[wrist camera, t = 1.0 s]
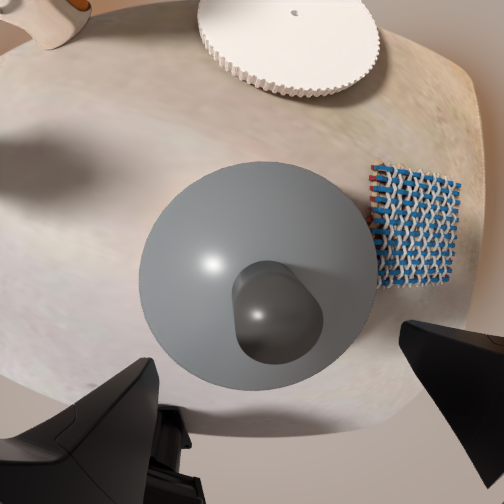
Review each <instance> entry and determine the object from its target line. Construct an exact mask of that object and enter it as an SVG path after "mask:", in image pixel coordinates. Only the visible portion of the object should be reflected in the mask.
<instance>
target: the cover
mask: <svg viewBox="0 0 504 504" xmlns="http://www.w3.org/2000/svg"><path fill="white" fill-rule="evenodd" d="M377 280H378V263H377V255H376V249H375V245H374V241H373V237H372V235H371V232H370V230H369V227H368V225H367V223H366V221H365V219H364V218H363V216H362V214H361V213H360V211H359V209H358V208H357V207H356V206H355V204H354V203H353V202H352V201H351V199H350V198H349V197H348V196H347V195H346V194H345V193H344V192H343V191H341V190H340V189H339V188H338V187H337V186H336V185H334V184H333V183H331V182H330V181H328V180H327V179H325V178H324V177H322V176H320V175H318V174H316V173H314V172H312V171H310V170H307V169H304V168H301V167H298V166H295V165H290V164H284V163H279V162H250V163H242V164H237V165H233V166H229V167H226V168H222V169H220V170H217V171H215V172H213V173H210V174H208V175H206V176H204V177H202V178H201V179H199V180H197V181H196V182H194V183H192V184H191V185H189V186H188V187H187V188H186V189H184V190H183V191H182V192H181V193H180V194H178V195H177V196H176V197H175V198H174V199H173V200H172V201H171V202H170V204H169V205H168V206H167V207H166V208H165V209H164V210H163V212H162V213H161V215H160V216H159V218H158V219H157V221H156V222H155V224H154V225H153V228H152V230H151V232H150V234H149V236H148V238H147V240H146V243H145V246H144V250H143V253H142V257H141V263H140V269H139V292H140V300H141V305H142V308H143V312H144V315H145V319H146V321H147V323H148V325H149V328H150V330H151V332H152V333H153V335H154V337H155V338H156V340H157V342H158V343H159V345H160V346H161V347H162V348H163V349H164V351H165V352H166V353H167V354H168V355H169V356H170V357H171V358H172V359H173V360H174V361H175V362H176V363H177V364H178V365H180V366H181V367H182V368H184V369H185V370H187V371H188V372H189V373H191V374H193V375H195V376H197V377H198V378H200V379H202V380H205V381H207V382H210V383H212V384H215V385H218V386H222V387H225V388H230V389H236V390H246V391H260V390H271V389H277V388H282V387H286V386H289V385H292V384H295V383H298V382H301V381H303V380H305V379H307V378H310V377H312V376H313V375H315V374H317V373H319V372H320V371H322V370H323V369H325V368H326V367H328V366H329V365H330V364H332V363H333V362H334V361H335V360H336V359H338V358H339V357H340V356H341V355H342V354H343V353H344V352H345V351H346V350H347V349H348V347H349V346H350V345H351V344H352V343H353V341H354V340H355V339H356V337H357V336H358V334H359V333H360V331H361V330H362V328H363V326H364V324H365V322H366V320H367V318H368V316H369V313H370V311H371V308H372V305H373V301H374V298H375V294H376V287H377Z"/></svg>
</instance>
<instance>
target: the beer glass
mask: <svg viewBox="0 0 504 504" xmlns="http://www.w3.org/2000/svg"><path fill="white" fill-rule="evenodd" d="M91 10H92V8H91V4H90V3H89V2H88V1H87V0H0V21H2V22H5V23H8V24H11V25H14V26H17V27H19V28H22V29H23V30H25V31H27V33H29V34H30V35H31V36H32V37H33V39H34V40H35V42H36V43H37V44H38V46H39V47H41V48H42V49H45V50H50V49H54V48H57V47H59V46H61V45H63V44H64V43H66V42H67V41H69V40H70V39H72V38H73V37H74V36H75V35H76V34H77V33H78V32H79V31H80V30H81V29H82V28H83V26H84V25H85V24H86V22H87V21H88V19H89V17H90V14H91Z"/></svg>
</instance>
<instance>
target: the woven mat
mask: <svg viewBox="0 0 504 504" xmlns="http://www.w3.org/2000/svg"><path fill="white" fill-rule="evenodd" d="M382 165H383V162H382V161H381V160H380V159H377V160H375V162H374V164H373V165H371V170H373V176H372V175H369V180H372V181H373V186H370V190H372V196H370V201H372V203H371V207H369V211H371V214H372V217H367V221H369V222H372V223H371V224H370V228H369V230H370V232H371V235H372V237H373V241H374V245H380V248H375V249H376V255H380V257H377V263H378V280H377V287H376V289H378V288H379V287H380V285H382V290H385V286H386V285H387V288H389V289H390V287H392V286H393V285H395V284H397V289H400V285H402V284H403V283H404V284H403V286H402V287H403V288H404V287H405V286H406V285H408V287H409V288H411V286H412V284H415V287H418V285H420V284H421V287H424V284H425V283H426V284H425V286H427V285H428V283H429V282H431V285H432V284H433V286H435V283H437V284H436V285H439V284H440V282H441V285H443V283H444V282H447V281H448V280H449V277H448V275H445V274H446V273H452V269H450V267H447V265H450V264H452V260H451V259H450V257H451V256H454V254H455V252H453V251H452V249H451V248H453V247H455V243H453V242H452V241H453V239H457V235H454V230H457V226H454V224H455V222H459V218H456V216H455V213H458V209H455V206H454V205H455V204H457V205H458V204H460V201H459V200H455V199H454V196H459V192H458V191H454V189H455V188H460V187H461V184H459V183H455V180H454V177H453V176H452V179H451V177H449V179H448V178H447V176H446V175H444V174H443V175H442V176H441V178H440V173H438V172H437V173H432V172H431V171H430V170H429V171H427V172H426V173H425V175H424V173H423V170H422V169H421V168H420V170H419V171H418V172H417V169H415V171H414V172H412V170H411V168H409V170H406V168H405V166H404V165H403V164H401V163H399V164H398V165H397V166H396V165H394V168H393V167H391V163H390V162H388V164H387V166H382ZM380 171H382V172H387V174H386V177H384V176H380ZM392 173H393V176H392ZM396 175H397V177H396ZM405 177H406V180H404V179H405ZM412 177H413V178H414V180H415V182H413V181H412ZM430 181H431V182H432V185H431V183H430ZM380 182H386V183H385V187H382V186H380ZM440 184H441V187H440ZM402 185H406V190H402ZM392 186H393V188H392ZM412 187H414V190H413V191H412ZM430 191H431V192H432V195H431V194H429V193H430ZM379 192H385V195H386V198H384V197H379ZM423 192H424V193H423ZM446 194H448V197H447V196H446ZM402 195H405V200H402ZM411 196H413V199H414V202H412V201H411ZM423 198H424V200H423ZM429 200H432V201H431V203H430V201H429ZM379 202H385V203H386V204H385V205H384V208H378V205H379ZM446 203H447V205H448V207H444V206H445V204H446ZM394 204H395V205H394ZM402 205H405V209H406V211H405V210H402ZM413 206H414V207H413ZM420 208H421V211H422V213H421V212H420ZM429 210H430V211H431V214H428V212H429ZM438 211H439V215H438ZM445 211H447V214H446V215H445ZM380 213H383V218H382V217H381V214H380ZM390 214H391V216H390ZM402 215H405V217H404V219H403V216H402ZM452 216H453V217H452ZM419 217H421V219H420V222H419ZM435 219H436V220H437V223H438V224H437V223H435ZM412 220H413V221H412ZM445 220H446V221H445ZM423 221H424V222H423ZM450 221H453V222H452V224H451V225H450ZM444 222H445V224H444ZM381 224H382V228H379V226H380V225H381ZM389 226H390V229H389ZM409 226H412V228H411V230H409ZM418 226H419V228H420V231H418ZM402 227H403V228H402ZM435 228H437V230H436V232H434V229H435ZM449 230H451V234H449ZM428 231H429V232H428ZM376 234H381V238H376ZM388 235H389V237H388ZM401 236H402V238H401ZM408 236H410V239H409V240H408ZM426 237H428V239H427V240H426ZM434 237H435V241H433V238H434ZM450 238H451V239H450ZM448 239H450V241H449V242H448ZM397 245H398V246H397ZM409 245H410V246H409ZM407 246H409V248H408V249H406V248H407ZM387 247H388V248H387ZM400 247H401V248H400ZM440 247H442V250H441V249H440ZM448 247H449V250H447V248H448ZM425 248H427V249H425ZM406 255H407V258H405V256H406ZM415 255H417V256H416V257H415ZM423 256H426V257H425V258H424V257H423ZM441 256H442V257H441ZM414 257H415V258H414ZM407 264H408V265H407ZM430 264H432V265H431V267H429V266H430ZM398 265H399V266H398ZM423 265H424V267H422V266H423ZM438 265H440V267H438ZM438 273H439V274H438ZM414 274H416V275H414ZM430 274H431V275H430ZM437 274H438V275H437ZM383 275H384V277H382V276H383ZM394 275H397V276H396V277H394ZM404 276H405V277H404ZM423 283H424V284H423Z"/></svg>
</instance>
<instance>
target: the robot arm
mask: <svg viewBox="0 0 504 504" xmlns="http://www.w3.org/2000/svg"><path fill="white" fill-rule="evenodd" d="M399 346H400V348H401V350H402V352H403V353H404V355H405V357H406V359H407V360H408V362H409V364H410V366H411V368H412V369H413V371H414V373H415V375H416V376H417V378H418V379H419V380H420V382H421V383H422V385H423V386H424V388H425V389H426V390H427V392H428V393H429V395H430V396H431V398H432V399H433V401H434V402H435V404H436V405H437V407H438V408H439V410H440V411H441V413H442V414H443V416H444V417H445V419H446V420H447V422H448V423H449V425H450V426H451V428H452V430H453V431H454V433H455V434H456V436H457V438H458V439H459V441H460V443H461V444H462V446H463V447H464V449H465V450H466V453H467V454H468V456H469V458H470V459H471V461H472V463H473V465H474V467H475V468H476V470H477V472H478V474H479V475H480V477H481V479H482V481H483V483H484V484H485V486H486V487H487V489H489V488H490V487H491V486H492V485H493V484H494V483H495V482H496V481H497V480H499V479H500V478H501V477H502V476H503V475H504V337H499V336H493V335H486V334H482V333H476V332H470V331H465V330H460V329H455V328H450V327H445V326H440V325H435V324H430V323H426V322H421V321H416V320H408V321H405V322H403V323H402V325H401V330H400V336H399ZM158 394H159V376H158V373H157V370H156V366H155V363H154V360H153V359H152V358H140V359H138V360H137V361H135V362H134V363H133V364H131V365H130V366H128V367H127V368H125V369H124V370H123V371H121V372H120V373H118V374H117V375H115V376H114V377H112V378H111V379H109V380H108V381H107V382H105V383H104V384H102V385H101V386H99V387H98V388H96V389H95V390H93V391H92V392H90V393H89V394H87V395H86V396H84V397H83V398H82V399H80V400H79V401H77V402H76V403H74V405H73V404H72V405H71V406H69V407H68V408H67V409H65V410H63V411H62V412H60V413H59V414H57V415H55V416H54V417H52V418H50V419H48V420H46V421H45V422H43V423H41V424H39V425H37V426H36V427H33V428H31V429H29V430H27V431H25V432H24V433H21V434H19V435H17V436H15V437H12V438H8V439H0V504H206V502H205V498H204V493H203V490H202V485H201V481H200V478H197V477H191V476H187V475H183V474H180V473H179V467H180V456H181V449H190V448H191V447H192V443H191V440H190V438H189V435H188V432H187V429H186V426H185V423H184V420H183V417H182V414H181V411H180V409H179V408H177V407H158ZM502 504H504V502H503V503H502Z"/></svg>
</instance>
